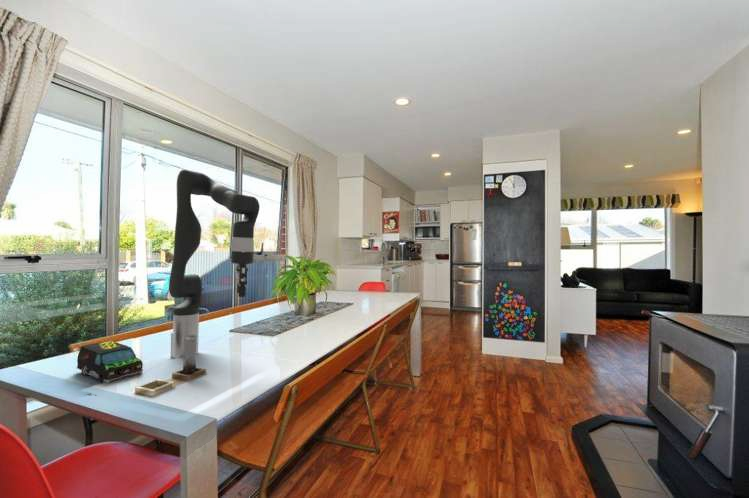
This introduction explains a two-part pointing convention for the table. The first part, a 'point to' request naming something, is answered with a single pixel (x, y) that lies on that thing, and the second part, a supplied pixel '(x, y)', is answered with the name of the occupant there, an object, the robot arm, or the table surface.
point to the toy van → (108, 361)
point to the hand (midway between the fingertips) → (241, 295)
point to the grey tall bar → (189, 354)
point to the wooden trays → (167, 383)
